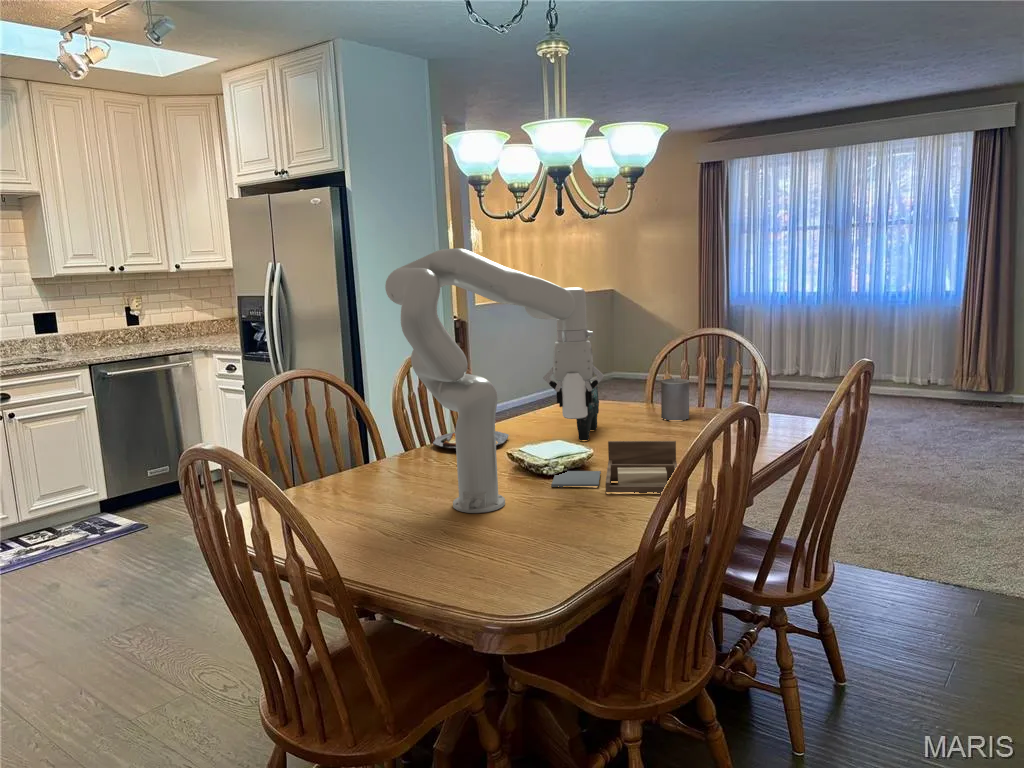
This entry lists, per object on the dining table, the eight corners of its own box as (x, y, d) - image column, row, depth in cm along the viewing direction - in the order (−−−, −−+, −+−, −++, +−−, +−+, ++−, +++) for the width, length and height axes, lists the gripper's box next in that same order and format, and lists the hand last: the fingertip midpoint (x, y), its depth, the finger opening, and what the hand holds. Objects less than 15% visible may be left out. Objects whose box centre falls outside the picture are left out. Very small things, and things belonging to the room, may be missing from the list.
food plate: (499, 454, 228) (498, 442, 228) (425, 454, 233) (424, 443, 232) (513, 436, 253) (513, 426, 252) (446, 437, 257) (446, 427, 257)
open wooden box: (680, 494, 183) (680, 463, 181) (605, 494, 186) (604, 463, 184) (675, 469, 204) (675, 440, 203) (609, 469, 207) (608, 441, 206)
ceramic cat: (584, 427, 259) (583, 370, 255) (603, 428, 257) (602, 370, 254) (573, 441, 240) (571, 379, 237) (593, 442, 238) (591, 379, 235)
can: (586, 419, 191) (584, 372, 189) (561, 419, 193) (559, 373, 191) (588, 413, 197) (587, 368, 195) (564, 414, 199) (562, 369, 197)
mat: (598, 488, 191) (598, 484, 191) (551, 487, 193) (551, 484, 193) (600, 474, 203) (600, 471, 202) (556, 474, 205) (556, 471, 204)
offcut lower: (667, 492, 187) (667, 482, 187) (618, 492, 189) (618, 482, 188) (666, 486, 192) (666, 476, 191) (618, 486, 194) (618, 476, 193)
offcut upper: (667, 482, 187) (667, 473, 186) (618, 483, 188) (617, 473, 188) (665, 476, 191) (665, 467, 191) (617, 477, 193) (617, 467, 192)
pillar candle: (657, 416, 270) (657, 375, 268) (684, 415, 271) (683, 373, 269) (666, 423, 261) (665, 380, 258) (693, 421, 262) (693, 378, 259)
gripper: (606, 334, 194) (608, 402, 197) (540, 336, 197) (543, 403, 200) (605, 337, 186) (607, 408, 189) (536, 339, 189) (539, 409, 192)
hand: (574, 405), depth 194 cm, fingers closed on can, 6 cm apart
